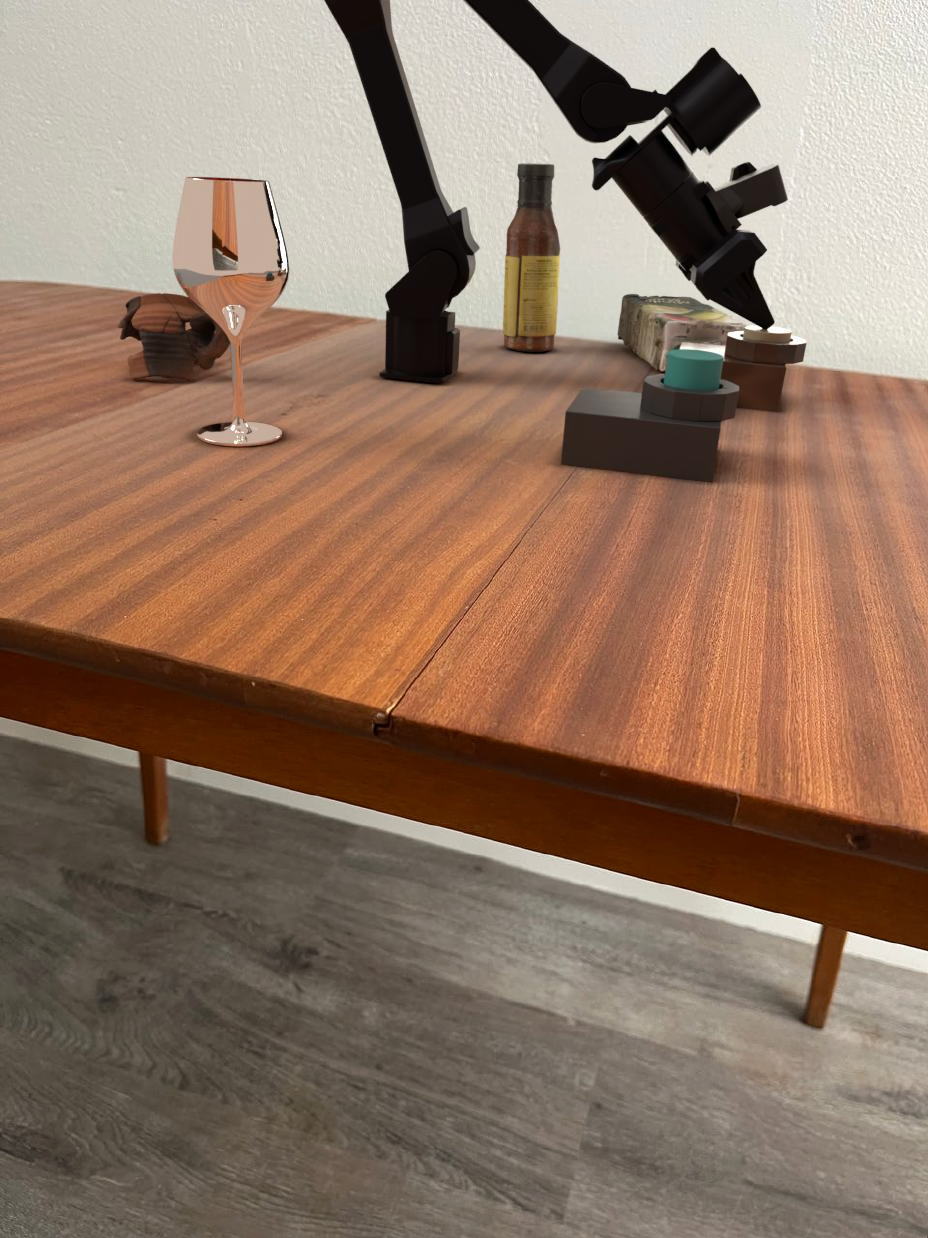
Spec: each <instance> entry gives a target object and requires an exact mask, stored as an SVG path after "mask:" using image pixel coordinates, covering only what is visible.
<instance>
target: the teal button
mask: <svg viewBox="0 0 928 1238" xmlns="http://www.w3.org/2000/svg"><path fill="white" fill-rule="evenodd" d="M723 359H724V357H723V356H722V355H720V354H717V353H713V352H709V351H702V350H691V349H677V350H671V351H669V352H668V356H667V364H666V371H664V374H665V378H664V384H665V385H667V386H671V387H676V388H681V389H690V390H700V391H701V390H718V389H719V384H720V378H721V372H722V366H723Z"/></svg>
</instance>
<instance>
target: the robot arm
mask: <svg viewBox="0 0 928 1238" xmlns="http://www.w3.org/2000/svg"><path fill="white" fill-rule="evenodd" d="M323 1H324V3H325V5H326V7H327V8H328V10H329V12H330V14H331V15H332V16H333V18H334V20H335V21H336V24H337V25H338V27H339V29H340V30H341V33H342V34H343V36H344V38H345V39H346V41H347V44H348V46H349V49H350V52H351V55H352V58H353V60H354V64H355V67H356V70H357V73H358V76H359V79H360V83H361V85H362V88H363V92H364V94H365V95H364V96H365V97H366V101H367V104H368V107H369V111H370V113H371V116H372V119H373V122H374V125H375V129H376V131H377V134H378V139H379V141H380V144H381V147H382V150H383V153H384V156H385V159H386V163H387V166H388V168H389V172H390V175H391V178H392V181H393V184H394V188H395V190H396V194H397V196H398V200H399V203H400V208H401V217H402V218H401V219H402V231H403V241H404V242H403V243H404V244H403V245H404V251H405V255H406V262H407V268H408V270H407V272H406V273H405V274H404V275H403V276H402V277H401V278H400V279H399V280H398V281H397V282H395V284H393V286H391V287H390V288H389V289H388V290H387V291H386V292H385V295H384V298H385V302H386V304H387V308H388V309H387V310H385V346H384V347H385V350H384V351H385V353H384V356H385V357H384V368H383V369H381V370H380V371H378V374H379V375H378V376H379V377H380V378H388V379H397V380H405V381H416V382H425V383H433V384H434V383H435V384H443V383H445V382H446V381H447V380H449V379H450V378H451V377H453V376H454V375H455V374H457V373H458V371H459V361H460V343H461V342H460V340H461V339H460V338H461V330H460V328H458V327H456V311H448V310H447V309H448V308H450V305H451V304H452V301H453V299H454V298H456V297H458V296H459V295H460V294H461V293H462V292H463V291H464V290H465V288H467V286H468V285H469V283H470V282H471V280H472V279H473V276H474V275H475V271H476V264H477V262H476V253H478V251H479V250H480V248H481V247H480V245H479V244H478V243H477V242H476V241H475V239H474V236H473V234H472V230H471V225H470V217H469V212H468V208H467V206H464V207H462V208H460V209H457V210H456V211H453V209H452V207H451V206H450V203H449V202H448V200H447V199H446V196H445V195H444V193H443V191H442V188H441V185H440V182H439V179H438V175H437V172H436V169H435V166H434V163H433V160H432V155H431V153H430V149H429V145H428V143H427V140H426V136H425V134H424V130H423V127H422V123H421V121H420V118H419V114H418V110H417V107H416V105H415V101H414V97H413V96H412V91H411V88H410V84H409V81H408V79H407V75H406V71H405V69H404V65H403V62H402V59H401V55H400V52H399V48H398V46H397V43H396V38H395V36H394V30H393V24H392V10H391V9H392V8H391V0H323ZM462 1H463V2H464V4H466V5H467V6H468V7H469V8H470V9H471V10H472V11H473V12H474V13H475V15H477V16H478V18H480V19H481V21H483V22H484V23H485V24H486V25H487V26H488V27H489V29H491V30H492V31H493V32H494V34H496V36H498V37H499V38H500V39H501V40H502V41H503V42H504V44H506V45H507V46H508V47H509V48H510V50H511V51H513V53H514V54H515V55H517V56H518V58H519V59H520V60H522V62H524V64H525V65H526V66H527V67H528V68H529V69H530V70H531V71H532V72H533V73H534V74H535V76H536V78H537V79H538V80H539V82H540V84H541V85H542V87H544V89H545V91H546V92H547V94H548V95H549V97H550V98H551V100H552V101H553V103H554V104H555V105H556V107H557V109H558V110H559V111H560V113H561V114H562V116H563V118H564V119H565V120H566V121H567V123H568V124H569V126H570V127H571V129H572V131H574V133H575V134H576V135H577V137H579V138H580V139H582V140H584V141H585V142H588V143H590V144H604V143H607V142H609V141H612V140H614V139H616V138H618V137H619V136H621V134H622V133H623V132H624V131H625V130H626V129H627V127H628V126H635V125H640V124H645V123H648V122H650V121H652V120H654V119H655V118H656V117H658V116H659V114H660V113H661V112H662V111H663V112H664V113H665V114H666V116H665V117H664V118H663V119H662V120H661V121H660V122H658V124H657V125H656V126H655V127H654V128H653V129H652V130H650V132H648V133H647V134H646V135H645V136H644V137H643V138H642V139H641V140H640V141H639V142H638V141H637V140H636V139H635V138H634V137H633V136H632V135H630V134H629V135H628V136H627V137H626V138H625V139H623V141H622V142H620V143H619V144H618V145H617V146H616V147H615V148H614V149H613V150H612V151H611V152H610V153H609V154H608V155H607V156H606V157H605V158H601V157H593V158H592V159H591V164H592V169H593V175H592V182H591V188H592V189H593V190H594V191H600V190H601V189H602V188H603V187H604V186H605V185H606V184H607V183H609V181H610V180H613V181H614V183H615V184H616V185H617V187H618V188H619V189H620V190H621V192H622V193H623V194H624V195H625V197H626V198H627V199H628V200H629V202H630V203H631V204H632V206H633V207H634V208H635V209H636V211H637V212H638V213H639V215H641V217H642V218H643V219H644V221H645V222H646V223H647V225H648V227H649V228H650V229H651V230H652V231H653V233H654V234H655V235H656V236H657V237H658V238H659V240H660V241H661V242H662V243H663V245H664V246H665V247H666V249H667V250H668V251H669V253H670V254H671V255H672V256H673V257H674V259H675V266H676V268H677V269H678V270H679V271H680V272H681V274H682V275H683V276H684V277H685V279H686V280H687V281H688V282H691V283H692V284H693V285H694V287H695V288H696V289H697V290H698V292H699V293H700V294H701V296H702V297H704V299H705V300H706V301H708V302H709V301H712V302H713V303H715V304H717V305H719V306H721V307H723V308H724V309H727V310H728V311H730V312H732V313H733V314H735V315H737V316H739V317H741V318H743V319H745V320H746V321H748V322H750V323H752V324H754V326H759V327H761V328H763V329H765V330H767V329H769V328H770V327H773V325H775V321H776V320H775V318H774V316H773V314H772V312H771V310H770V307H769V305H768V303H767V301H766V299H765V297H764V294H763V292H762V289H761V288H760V285H759V283H758V280H757V279H756V277H755V276H756V275H755V267H756V263H757V261H758V260H759V259H761V258H762V257H763V256H764V255H765V254H766V252H767V251H768V249H767V247H766V246H765V245H764V244H763V242H762V240H760V239H761V238H759V237H758V235H757V234H756V233H755V232H754V231H751V230H749V229H739V228H740V227H741V226H742V223H741V222H740V220H739V219H742V218H743V217H746V216H749V215H751V214H754V213H756V212H759V211H762V210H764V209H766V208H768V207H771V206H772V207H777V206H780V205H781V204H783V203H786V202H787V201H788V200H789V198H788V194H787V190H786V187H785V183H784V179H783V175H782V172H781V167H780V165H779V164H778V163H777V164H775V163H773V164H772V163H771V164H768V165H763V166H762V167H760V168H759V169H757V167H755V166H754V164H752V163H751V161H744V162H742V163H740V164H737V165H735V166H733V167H731V169H730V175H729V180H728V182H724V183H723V184H722V185H720V186H717V187H715V188H714V187H713V186H712V184H711V183H710V182H709V181H707V180H706V181H705V180H704V179H703V180H701V179H700V178H699V177H698V176H697V174H696V173H695V171H693V169H692V167H690V165H689V164H688V162H687V161H686V160H685V159H684V157H683V156H682V155H681V153H680V152H679V151H678V149H676V147H675V145H674V144H673V143H672V142H671V140H670V139H669V138H668V136H667V135H666V134H665V132H664V131H663V130H664V129H665V128H667V127H668V129H669V131H670V132H671V133H672V134H673V136H674V137H675V139H676V140H677V141H678V142H679V144H680V145H681V146H682V147H683V149H684V150H685V151H686V152H687V153H688V154H689V156H691V157H694V156H695V155H696V154H698V151H699V152H702V151H703V153H704V154H705V155H706V156H708V157H710V156H711V155H713V154H714V153H715V152H716V151H717V150H718V149H719V148H720V147H721V146H722V145H723V144H725V143H726V142H727V141H728V140H729V139H730V138H731V137H732V136H733V135H734V134H736V133H737V132H738V131H739V130H740V129H741V128H742V127H743V126H744V125H745V124H747V123H748V122H749V121H750V120H751V119H752V118H754V116H756V115H757V113H759V112H760V111H761V110H762V105H761V101H760V99H759V98H758V95H757V94H756V92H755V90H754V89H753V87H752V86H751V84H750V83H749V82H748V80H747V79H746V77H745V76H744V75H743V74H742V73H741V72H740V73H738V72H737V70H736V69H735V68H734V67H733V66H732V64H731V63H729V62H728V60H726V59H725V58H724V57H722V55H721V54H720V52H719V51H718V50H717V49H716V48H715V46H714V47H712V46H711V47H710V48H708V49H707V50H706V51H705V52H704V53H703V54H702V55H701V56H700V57H699V58H698V59H697V60H696V62H695V64H694V65H693V66H692V68H691V69H690V70H688V71H687V73H685V75H684V76H683V77H681V78H680V80H679V81H677V82H676V83H675V84H674V85H673V86H672V87H671V88H670V89H669V90H668V91H667V92H666V93H660V92H658V91H657V89H654V90H653V91H650V90H645V89H640V88H634V87H632V86H631V85H630V83H629V82H628V80H627V79H626V77H625V76H624V75H622V74H621V73H620V72H618V71H617V70H616V69H614V68H613V67H611V66H610V65H609V64H607V63H606V62H604V61H603V60H601V59H600V58H599V57H597V56H596V55H594V54H593V53H591V52H590V51H589V50H587V49H585V48H584V47H582V46H580V45H578V44H577V43H576V42H574V41H572V40H571V39H569V38H568V37H566V36H565V35H564V34H563V33H561V32H560V31H559V30H558V29H557V27H555V26H554V25H553V24H552V23H551V22H550V21H549V20H548V19H547V17H546V16H545V15H543V13H542V12H541V11H540V10H539V9H538V8H537V7H536V6H535V5H534V4H533V3H532V2H531V1H530V0H462Z"/></svg>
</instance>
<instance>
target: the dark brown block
mask: <svg viewBox="0 0 928 1238" xmlns="http://www.w3.org/2000/svg"><path fill="white" fill-rule="evenodd" d="M664 378H665V373H657V374H651V375H647V376H645V378H644V379H643V382H642V389H641V392H635V391H624V390H617V389H616V390H615V389H606V388H605V389H604V388H594V387H587V386H582V388H581V389H580V391H579V392H578V394H577V395H576V396H575V397H574V399H573V401H572V402H571V403H570V405H569V406H568V408H567V409H566V411H565V415H564V424H563V425H564V426H563V435H562V446H561V454H560V455H561V456H560V465H561V466H569V467H571V466H572V467H579V468H587V469H594V470H595V469H596V470H604V471H612V472H621V473H629V474H637V475H645V476H653V477H654V476H655V477H663V478H671V479H679V480H688V481H695V482H696V481H697V482H705V483H713V478H714V472H715V465H716V459H717V453H718V447H719V441H720V435H721V429H722V428H721V427H722V422H724V421H725V422H726V421H728V420H732V419H736V414H737V409H738V408H737V402H738V396H739V386H738V385H736V384H733V383H731V382H729V381H726V380H722V379H720V384H719V389H718V390H701V391H700V390H690V389H681V388H676V387H671V386H667V385H665V384H664Z"/></svg>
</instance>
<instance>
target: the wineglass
mask: <svg viewBox="0 0 928 1238" xmlns="http://www.w3.org/2000/svg"><path fill="white" fill-rule="evenodd" d="M181 191H182V192H181V196H180V202H179V206H178V207H179V208H178V213H177V219H176V224H175V230H174V236H173V243H172V252H171V255H172V256H171V258H172V260H171V261H172V269H173V273H174V276H175V278H176V279H175V280H176V281H177V283H178V285H179V286H180V288H181V290H182V291H183V292H184V293H185V296H186V297H189V298H190V299H191V300H192V301H193V302H194V303H195V304H196V305H197V306H198V307H199V308H200V309H201V310H202V311H203V312H205V313H206V314H207V315H208V316H209V317H210V318H211V319H212V320H214V321H215V322H216V323H217V324H218V325H219V326H220V327H221V329H222V330H223V331H224V332H225V334H226V335H227V337H228V339H229V341H230V345H229V347H230V348H229V349H230V364H231V365H230V366H231V380H232V381H231V384H232V420H231V421H226V422H217V423H212V424H208V425H205V426H203V427H200V428H199V429H198V430H197V432H196V436H197V438H198V439H199V440H200V441H202V442H205V443H207V444H212V445H216V446H225V447H252V446H253V447H254V446H261V445H262V446H263V445H267V444H270V443H274V442H277V441H278V440H280V439H281V438H282V436H283V431H282V430H281V429H280V428H278V427H277V426H274V425H271V424H268V423H262V422H254V421H247V418H246V411H245V409H246V408H245V397H244V396H245V395H244V377H243V376H244V375H243V354H242V353H243V352H242V351H243V349H242V342H243V339H244V337H245V335H246V334H247V332H248V331H249V329H250V328H251V327H252V325H254V324H255V323H256V321H258V320H259V319H260V318H261V317H262V316H263V315H264V314H265V313H266V312H268V310H269V309H270V308H272V306H273V305H274V304H275V303H276V302H277V301H278V300H279V299H280V297H281V296H282V294H283V292H284V291H285V289H286V287H287V286H288V282H289V278H290V274H291V261H290V260H291V259H290V252H289V248H288V243H287V238H286V235H285V230H284V227H283V223H282V220H281V216H280V212H279V208H278V205H277V201H276V197H275V194H274V189H273V187H272V184H271V181H270V180H264V179H256V178H255V179H254V178H253V179H252V178H241V177H240V178H239V177H237V178H236V177H218V176H217V177H216V176H185V177H184V181H183V186H182V190H181Z"/></svg>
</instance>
